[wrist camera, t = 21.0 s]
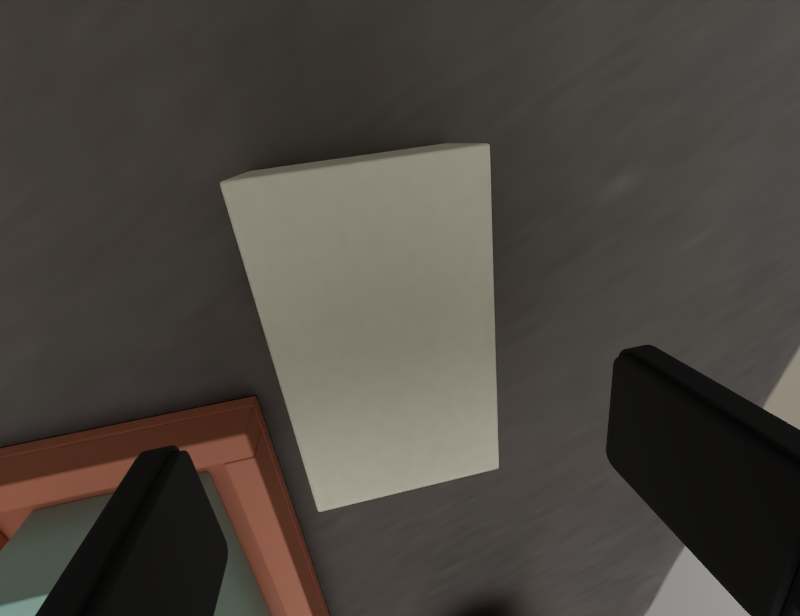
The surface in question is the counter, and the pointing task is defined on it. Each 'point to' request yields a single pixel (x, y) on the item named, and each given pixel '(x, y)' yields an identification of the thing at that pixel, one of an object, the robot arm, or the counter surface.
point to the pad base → (65, 531)
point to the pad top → (377, 313)
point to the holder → (210, 452)
